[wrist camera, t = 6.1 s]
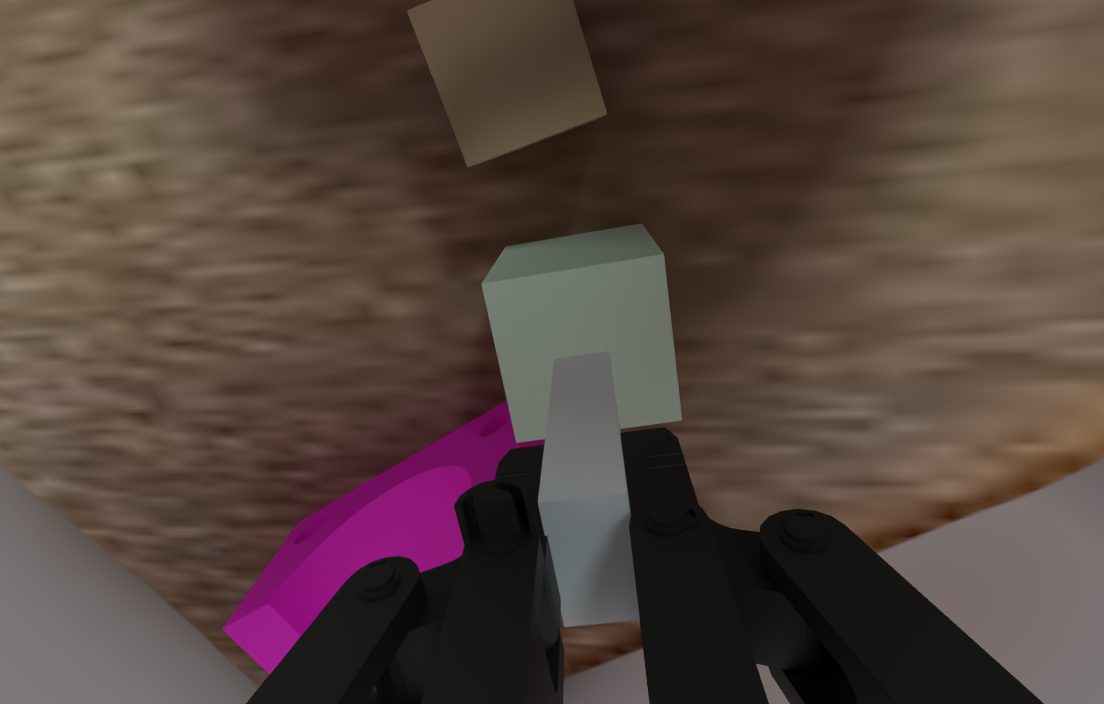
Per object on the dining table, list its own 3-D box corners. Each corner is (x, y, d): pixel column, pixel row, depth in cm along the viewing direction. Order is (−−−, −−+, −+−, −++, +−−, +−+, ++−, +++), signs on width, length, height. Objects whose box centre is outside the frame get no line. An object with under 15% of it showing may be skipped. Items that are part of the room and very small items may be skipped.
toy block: (373, 597, 33) (318, 721, 26) (301, 518, 32) (221, 629, 25) (598, 479, 30) (604, 585, 23) (531, 384, 28) (515, 467, 21)
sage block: (505, 246, 26) (481, 283, 19) (641, 223, 25) (663, 253, 19) (530, 370, 28) (516, 442, 21) (657, 351, 27) (682, 420, 21)
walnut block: (441, 36, 23) (406, 10, 18) (560, -15, 22) (556, -55, 18) (488, 161, 25) (467, 167, 20) (601, 118, 24) (607, 113, 19)
